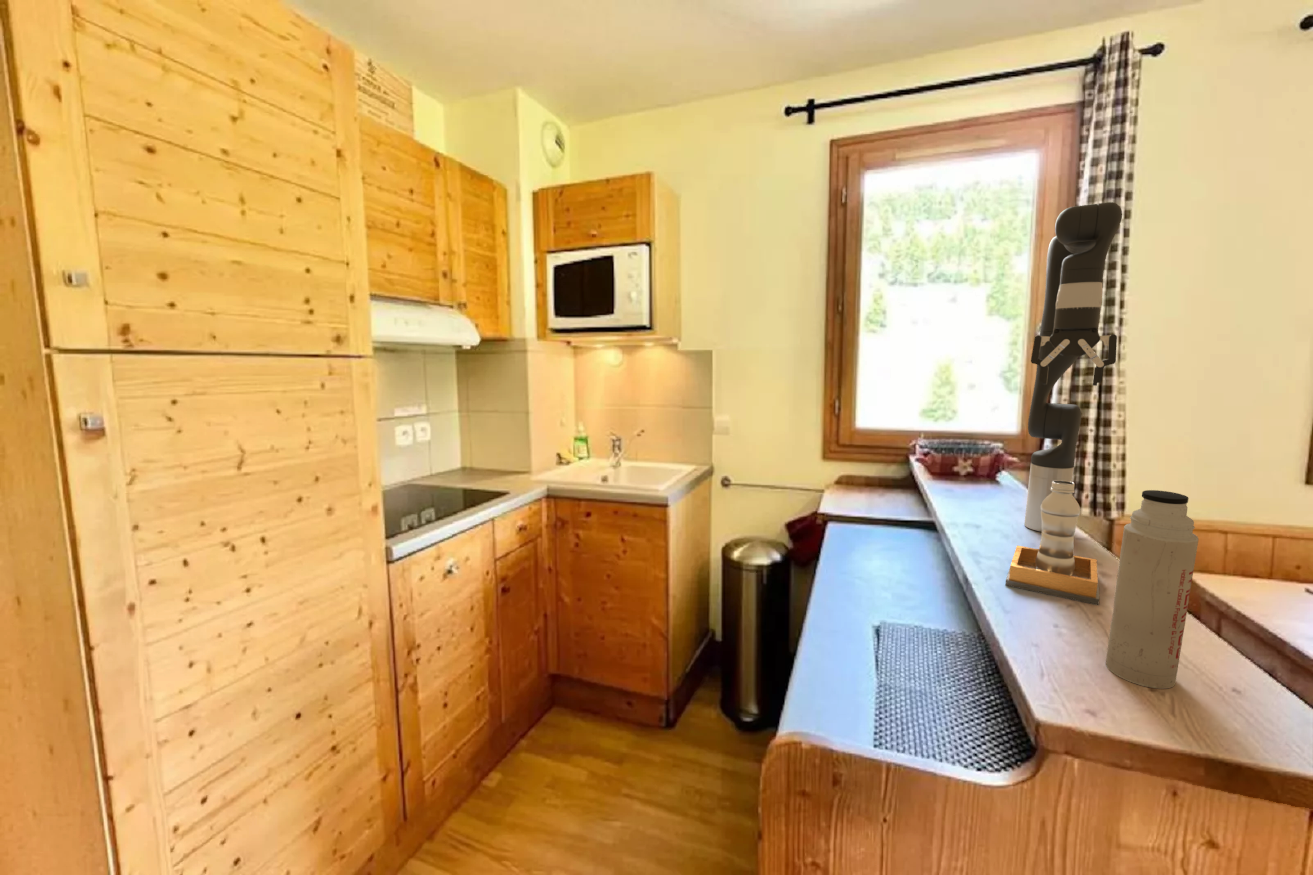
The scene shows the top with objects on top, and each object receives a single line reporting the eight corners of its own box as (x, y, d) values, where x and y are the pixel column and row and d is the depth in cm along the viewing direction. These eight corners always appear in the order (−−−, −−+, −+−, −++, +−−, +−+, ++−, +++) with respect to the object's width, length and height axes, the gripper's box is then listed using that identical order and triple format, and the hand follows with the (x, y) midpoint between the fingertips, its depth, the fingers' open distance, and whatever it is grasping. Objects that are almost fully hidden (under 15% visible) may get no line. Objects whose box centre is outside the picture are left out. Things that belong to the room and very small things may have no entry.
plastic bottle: (1080, 583, 111) (1091, 487, 107) (1042, 581, 112) (1052, 486, 109) (1063, 570, 117) (1073, 479, 114) (1028, 568, 118) (1037, 478, 115)
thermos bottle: (1186, 680, 81) (1217, 496, 77) (1156, 694, 78) (1186, 504, 73) (1123, 653, 89) (1147, 483, 84) (1093, 665, 85) (1117, 490, 81)
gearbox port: (1012, 561, 125) (1014, 544, 124) (1097, 578, 116) (1099, 559, 115) (1005, 585, 113) (1007, 565, 113) (1098, 605, 104) (1101, 584, 104)
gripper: (1121, 305, 113) (1111, 384, 116) (1037, 308, 122) (1030, 382, 124) (1123, 303, 107) (1113, 387, 110) (1035, 307, 116) (1027, 384, 119)
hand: (1069, 384), depth 117 cm, fingers open, 8 cm apart
